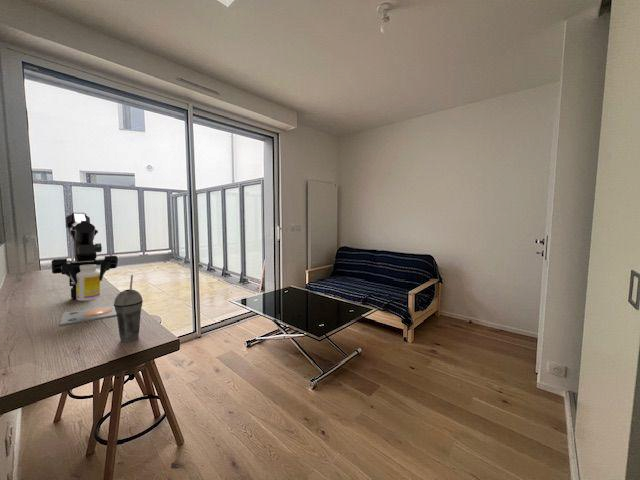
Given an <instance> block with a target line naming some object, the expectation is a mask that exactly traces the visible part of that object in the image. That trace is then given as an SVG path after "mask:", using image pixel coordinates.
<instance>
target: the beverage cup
mask: <svg viewBox="0 0 640 480" xmlns="http://www.w3.org/2000/svg"><path fill="white" fill-rule="evenodd" d="M133 279H134V275H133V274H131V275H130V282H129V283H130V284H129V289H125V290H122V291H120V292H119V293H118V294H117V295H116V297H115V298H114V301H113V305H114V306H115V311H116V314H117V316H116V318H117V319H116V320H117V328H118V333H119V339H120V342H121V343H130V342H133V341H137V339H139V335H140V329H141V328H140V326H141V314H142V313H141V312H142V307H143V303H144V300H143V297H142V295H141V293H140V292H139V291H137V290H135V289H133V281H134V280H133Z"/></svg>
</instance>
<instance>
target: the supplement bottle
mask: <svg viewBox="0 0 640 480" xmlns="http://www.w3.org/2000/svg"><path fill="white" fill-rule="evenodd" d="M76 280H77V284H76V298H77V299H76V300H77V301H84V302H85V301H92V300H96V299H99V298H100V297H101V281H100V271H98V270H97V266H96V265H94V264H88V265H80V272H79V273H77V275H76Z"/></svg>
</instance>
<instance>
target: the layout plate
mask: <svg viewBox="0 0 640 480" xmlns="http://www.w3.org/2000/svg"><path fill="white" fill-rule="evenodd" d="M113 317H117V314H116V311H115V306H114V304H111V305H105V306H99V307H92V308H85V309H79V310H73V311H66V312H62V316H61V318H60V322H59V327H62V326H66V325H73V324H78V323H83V322H84V323H85V322H90V321H95V320H101V319H108V318H113Z"/></svg>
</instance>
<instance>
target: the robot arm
mask: <svg viewBox="0 0 640 480" xmlns="http://www.w3.org/2000/svg"><path fill="white" fill-rule="evenodd" d="M65 228H66V229H67V232H68V233H69V236H70V237H71V238H72V239H73V241H72V242H73V256H74V260H73V261H72V260H68V258H54V259H52V260H51V273H52V274H56V275H57V274H61V275H66V276H67V277H68V284H69V285H68V286H69V287H71V288H70V297H71V299H72V300H77V298H76V284H77V280H76V275H77V273H79V272H80V265H88V264H94V265H96V267H98V266H100V268H99V273H100V282H102V280H103V278H104V275H105V274H106V272H107V271H110V270H112V269H116V268H117V267H118V262H119V259H118V256H116V255H104V258H103V259H98V260H97V257H98V256H97V253H102V249H103V246H102V243H101V242H100V243H94V240H95V237H96V236H97V234H99V232H98V231H99V230H98V229H96V226H95V225H94V224H93V223H91V218H90V216H88V215H87V213H86V212H80V211H79V212H77V211H73V212H71V213H70V215H67V216H66V217H65Z"/></svg>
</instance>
